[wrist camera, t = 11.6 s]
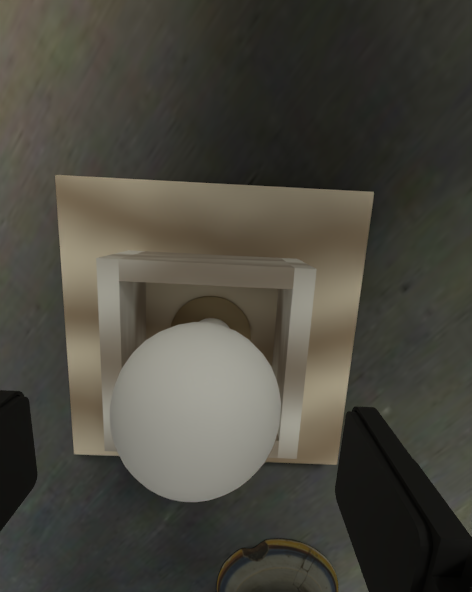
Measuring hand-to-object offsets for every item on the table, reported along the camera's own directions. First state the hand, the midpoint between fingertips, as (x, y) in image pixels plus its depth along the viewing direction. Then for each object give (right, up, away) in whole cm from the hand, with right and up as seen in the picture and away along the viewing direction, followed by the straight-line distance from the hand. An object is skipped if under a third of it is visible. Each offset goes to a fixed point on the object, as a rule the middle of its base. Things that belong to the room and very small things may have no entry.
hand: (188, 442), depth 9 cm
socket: (0, +2, +12) cm, 12 cm away
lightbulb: (0, +2, +10) cm, 11 cm away
